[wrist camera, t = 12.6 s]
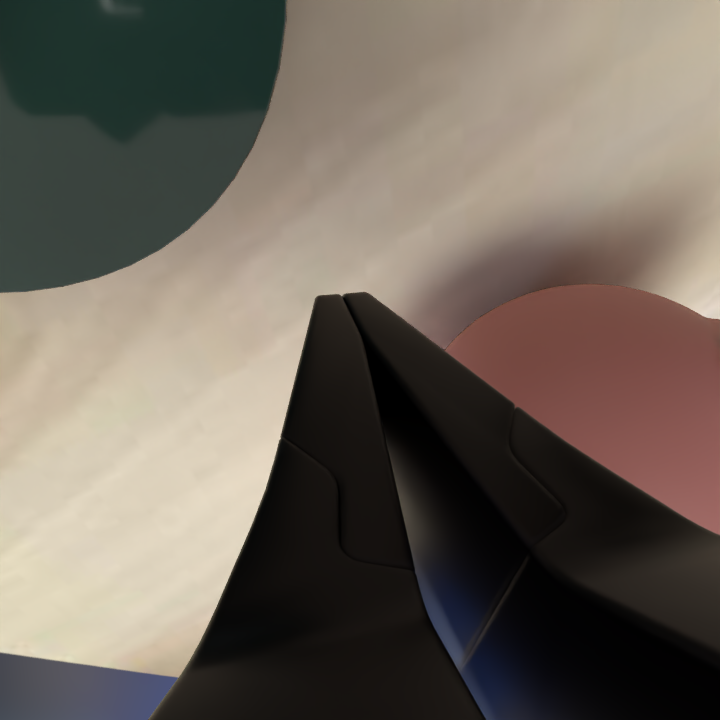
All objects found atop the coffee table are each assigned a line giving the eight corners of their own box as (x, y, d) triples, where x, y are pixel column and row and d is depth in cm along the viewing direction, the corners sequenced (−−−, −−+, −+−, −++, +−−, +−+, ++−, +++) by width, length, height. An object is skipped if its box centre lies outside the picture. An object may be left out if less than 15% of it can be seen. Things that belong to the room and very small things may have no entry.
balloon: (744, 281, 31) (1050, 514, 20) (463, 465, 37) (581, 720, 26) (680, 64, 21) (1211, 292, 10) (311, 364, 27) (400, 706, 16)
